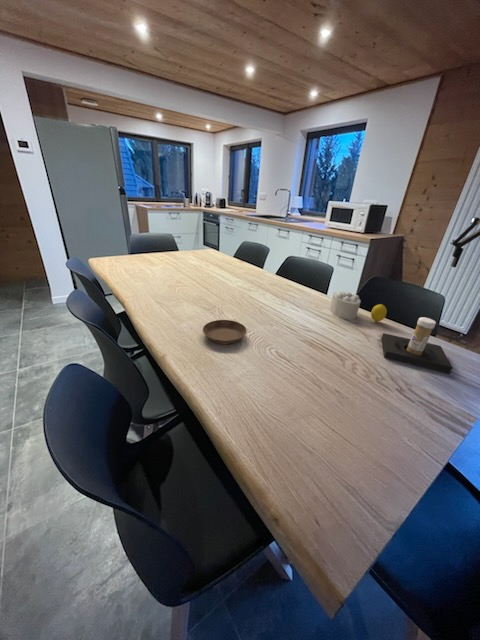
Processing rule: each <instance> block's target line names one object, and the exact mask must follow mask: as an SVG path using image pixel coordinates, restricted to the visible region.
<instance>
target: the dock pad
mask: <svg viewBox="0 0 480 640" xmlns="http://www.w3.org/2000/svg"><path fill="white" fill-rule="evenodd" d="M380 340H381V347H382V352H383V353H382V354H383V358H384V359H387V360H390V361H391V360H392V361H395V362H399V363H404V364H407V365H411V366H415V367H418V368H423V369H428V370H431V371H436V372H439V373H444V374H446V375H447V374H448V375H450V374H451V372H452V370H453V365H452V364H451V361H450V359H449V358H448V357H447V354H446V353H445V351H444V350H443V347H442V346H441V345H438V344H434V343H430V342H427V344H426V346H425V348H424V350H423V352H422V354H421V355H416V354H413V353H410V352H409V351H407V348H408V345H409V342H410V340H411V338H407V337H403V336H398V335H393V334H389V333H385V332H382V335H381V339H380Z"/></svg>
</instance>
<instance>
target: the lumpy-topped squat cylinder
mask: <svg viewBox="0 0 480 640" xmlns="http://www.w3.org/2000/svg"><path fill="white" fill-rule="evenodd" d="M361 301H362V300H361V299H360V296H359V295H358V294H353V293H351V292H349V291H338V292H334V293H332V298H331V301H330V306H329V310H330V312H331V313H332V314H333V315H334V316H336V317H338V318H341V319H345V320H349V321H351V320H355V319H356V318H357V315H358V313H359V309H360V305H361V303H362V302H361Z"/></svg>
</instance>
